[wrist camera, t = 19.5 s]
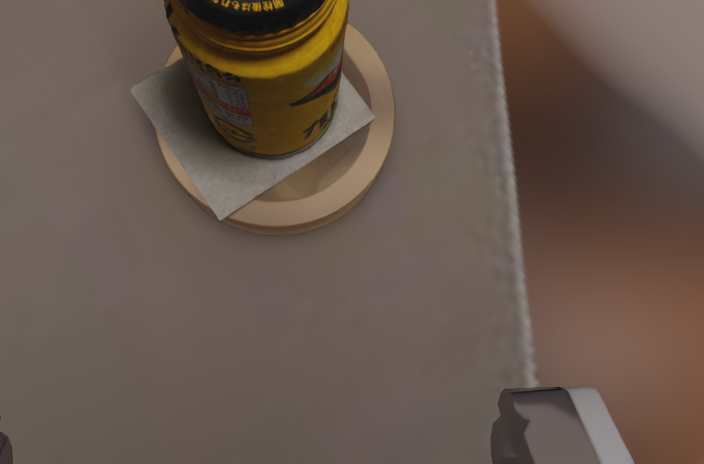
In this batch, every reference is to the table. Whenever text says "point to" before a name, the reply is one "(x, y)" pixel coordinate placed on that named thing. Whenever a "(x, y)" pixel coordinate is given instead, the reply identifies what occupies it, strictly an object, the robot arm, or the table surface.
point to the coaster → (318, 159)
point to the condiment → (252, 92)
